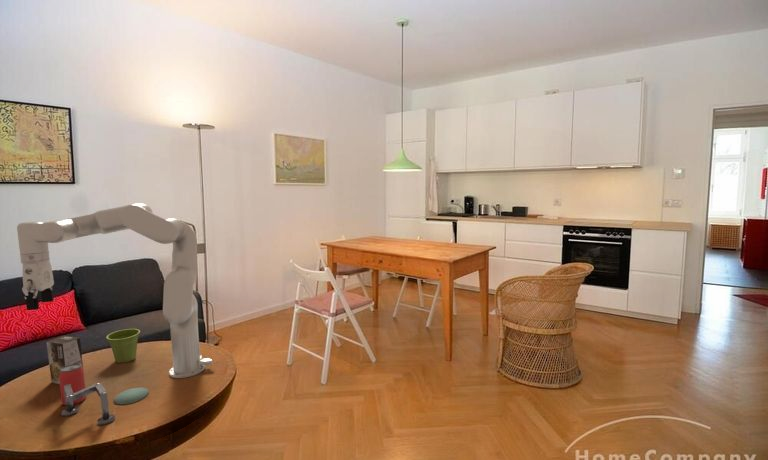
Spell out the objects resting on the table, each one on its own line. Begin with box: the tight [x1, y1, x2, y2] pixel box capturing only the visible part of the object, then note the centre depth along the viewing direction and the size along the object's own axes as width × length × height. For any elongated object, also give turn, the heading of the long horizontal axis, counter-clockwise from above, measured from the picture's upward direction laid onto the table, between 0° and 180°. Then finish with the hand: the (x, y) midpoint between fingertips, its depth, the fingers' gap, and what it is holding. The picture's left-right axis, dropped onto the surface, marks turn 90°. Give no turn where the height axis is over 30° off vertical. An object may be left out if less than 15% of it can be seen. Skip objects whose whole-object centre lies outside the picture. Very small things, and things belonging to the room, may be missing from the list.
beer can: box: [59, 364, 87, 406], centre depth 134 cm, size 7×7×12 cm
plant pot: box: [105, 328, 141, 364], centre depth 166 cm, size 12×12×11 cm
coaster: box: [113, 387, 150, 405], centre depth 137 cm, size 10×10×1 cm
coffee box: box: [46, 335, 84, 385], centre depth 149 cm, size 9×6×16 cm
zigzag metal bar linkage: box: [60, 382, 116, 426], centre depth 125 cm, size 17×13×9 cm
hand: (40, 305), depth 139 cm, fingers open, 9 cm apart
